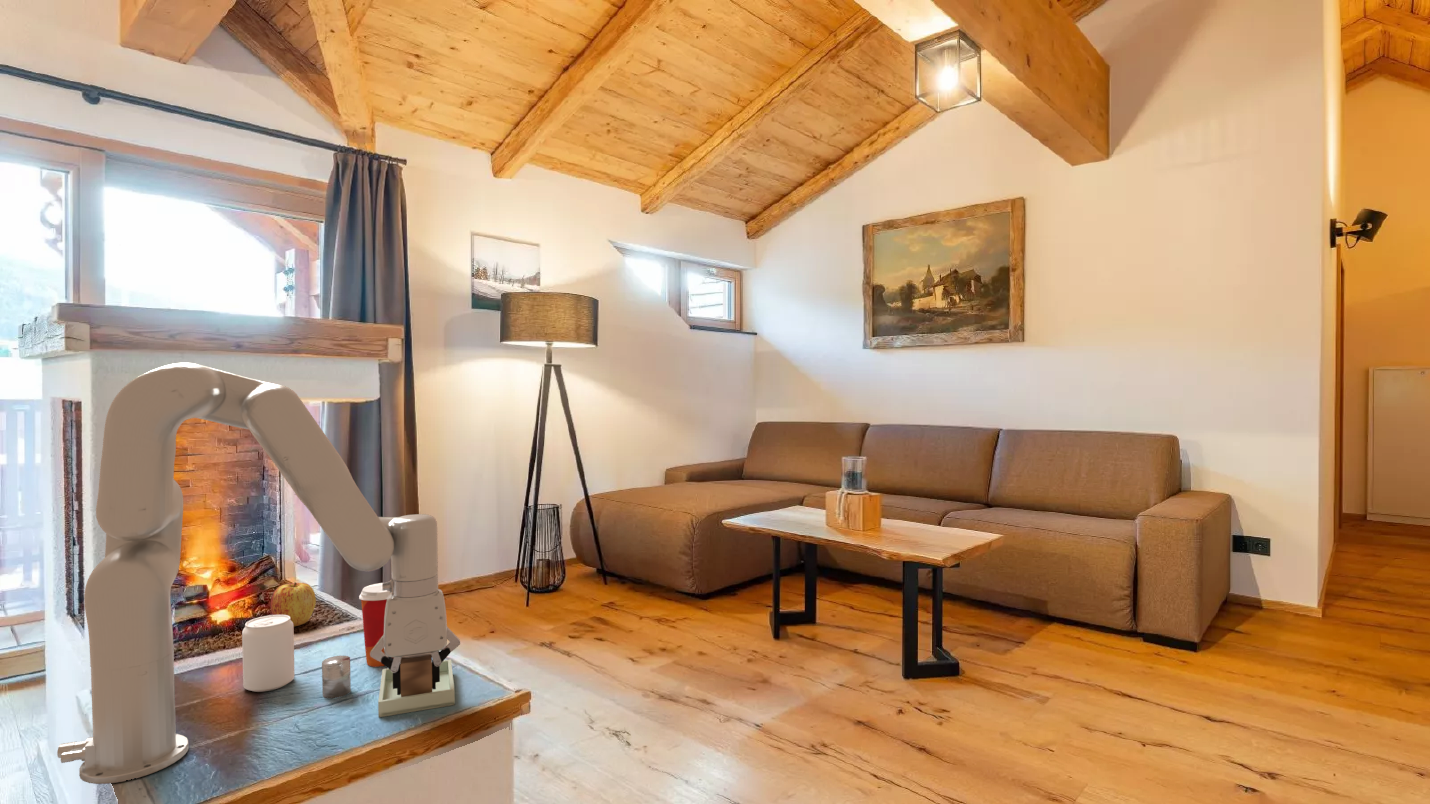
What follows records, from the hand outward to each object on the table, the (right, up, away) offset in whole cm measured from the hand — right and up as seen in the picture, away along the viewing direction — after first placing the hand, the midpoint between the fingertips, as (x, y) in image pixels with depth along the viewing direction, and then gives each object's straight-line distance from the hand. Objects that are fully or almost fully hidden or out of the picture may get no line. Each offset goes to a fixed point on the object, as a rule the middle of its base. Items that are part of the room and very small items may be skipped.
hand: (416, 688), depth 126 cm
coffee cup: (-15, -2, +18) cm, 24 cm away
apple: (-45, -2, +40) cm, 61 cm away
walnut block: (0, 0, 0) cm, 0 cm away
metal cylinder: (-16, -2, +4) cm, 17 cm away
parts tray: (-1, -2, +3) cm, 4 cm away
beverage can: (-31, -3, +8) cm, 32 cm away
